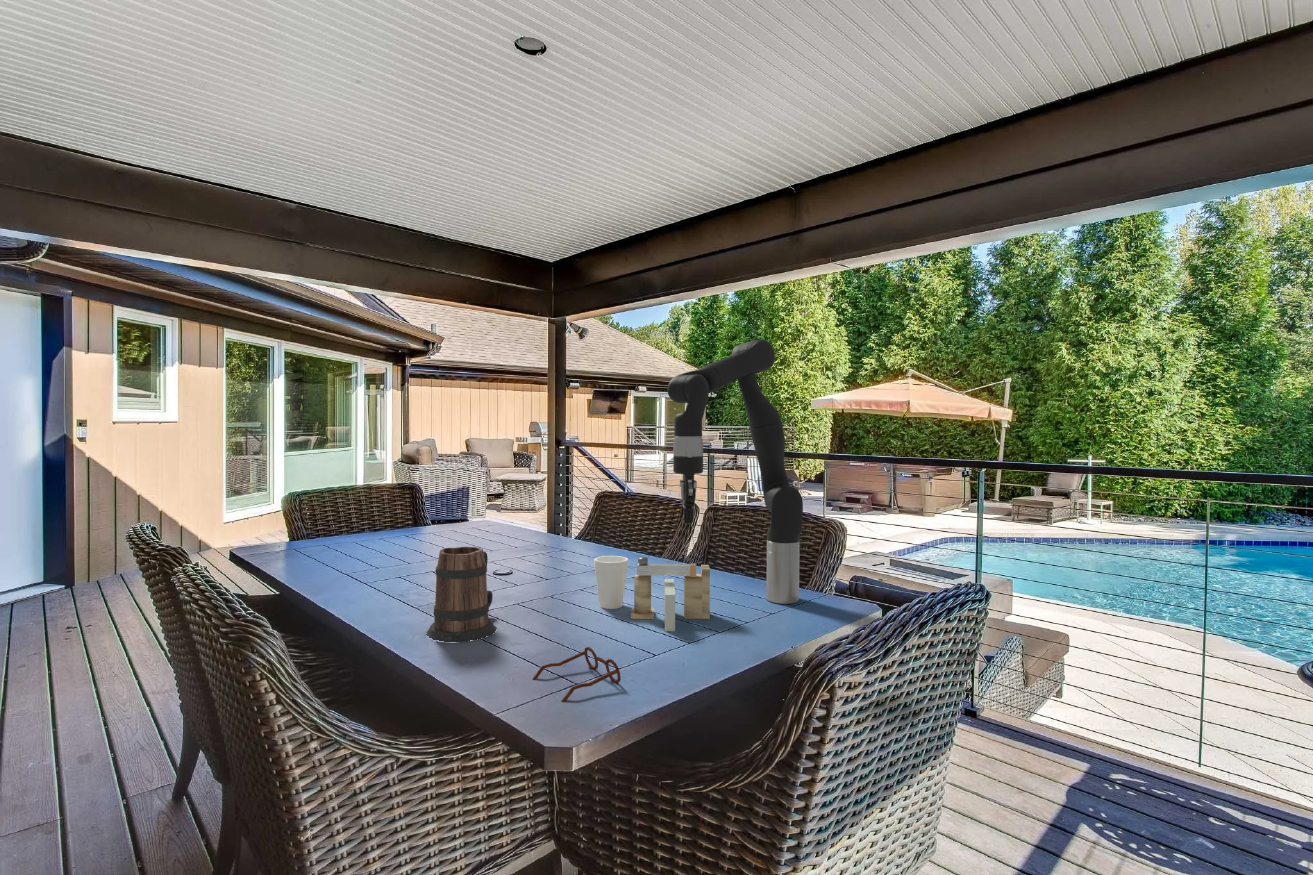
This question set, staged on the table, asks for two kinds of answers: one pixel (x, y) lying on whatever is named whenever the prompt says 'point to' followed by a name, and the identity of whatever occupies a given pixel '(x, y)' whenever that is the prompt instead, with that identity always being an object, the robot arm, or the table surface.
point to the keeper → (697, 595)
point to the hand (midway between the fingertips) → (688, 522)
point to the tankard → (461, 596)
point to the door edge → (669, 604)
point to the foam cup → (611, 580)
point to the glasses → (589, 666)
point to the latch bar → (665, 568)
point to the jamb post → (642, 598)
